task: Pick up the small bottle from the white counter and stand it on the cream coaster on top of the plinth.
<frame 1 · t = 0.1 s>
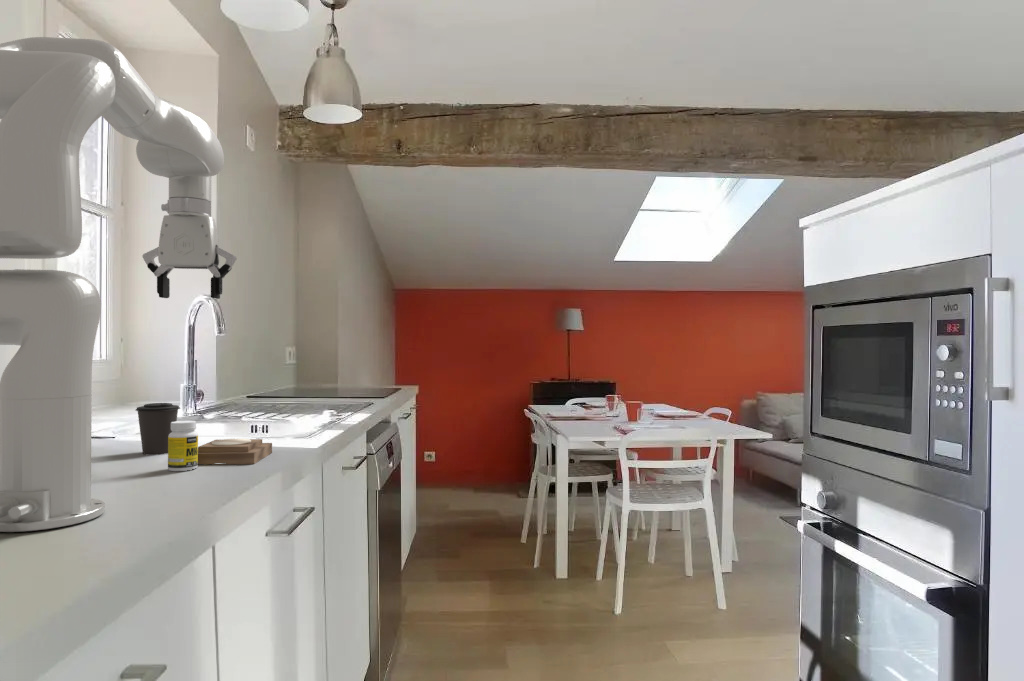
hand: (189, 297, 127), 31 cm above the countertop, fingers open, 9 cm apart
coffee cup: (157, 453, 132), on the countertop
supplement bottle: (183, 470, 115), on the countertop
plinth: (231, 458, 125), on the countertop
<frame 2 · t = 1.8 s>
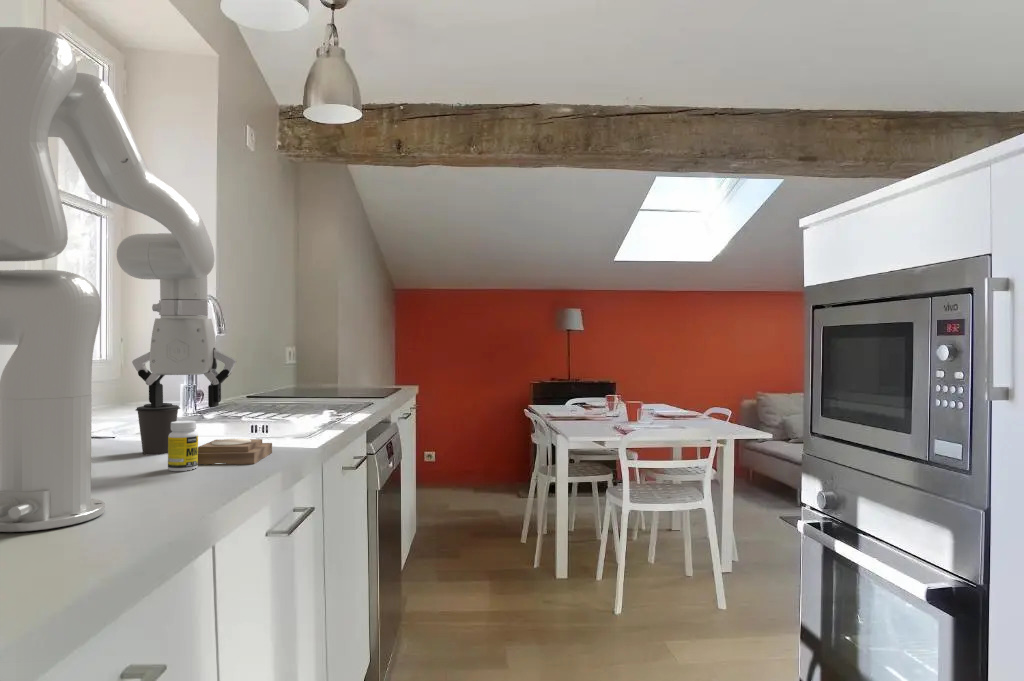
hand: (185, 406, 115), 11 cm above the countertop, fingers open, 9 cm apart
nothing on the countertop moved.
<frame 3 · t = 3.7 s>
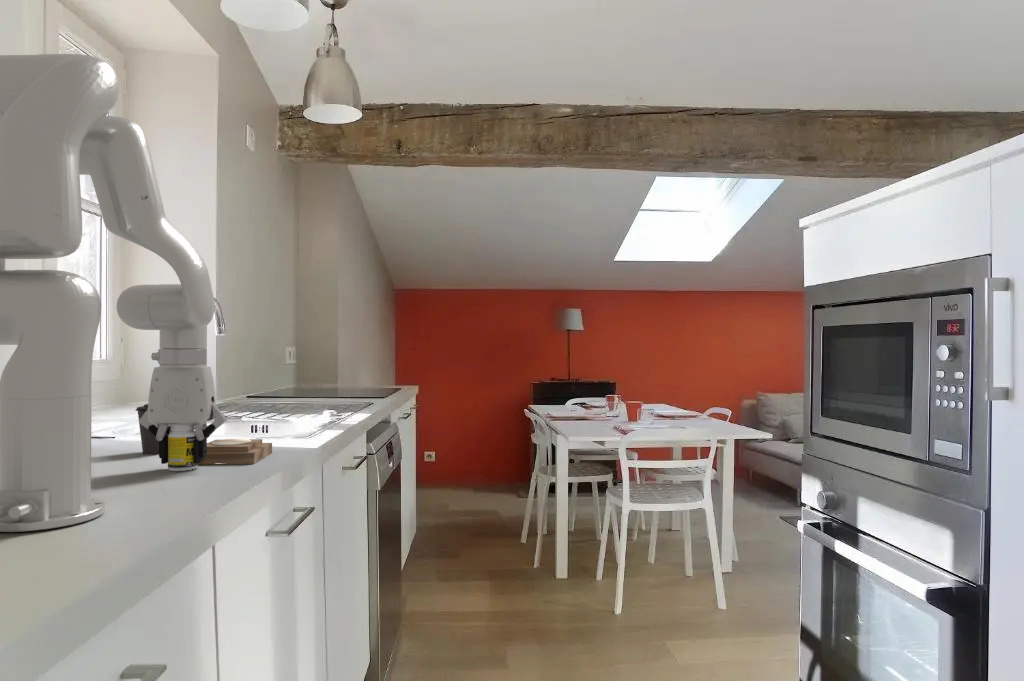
hand: (183, 461, 115), 1 cm above the countertop, fingers closed on supplement bottle, 4 cm apart
supplement bottle: (183, 470, 115), on the countertop, touching gripper
everything else where it was.
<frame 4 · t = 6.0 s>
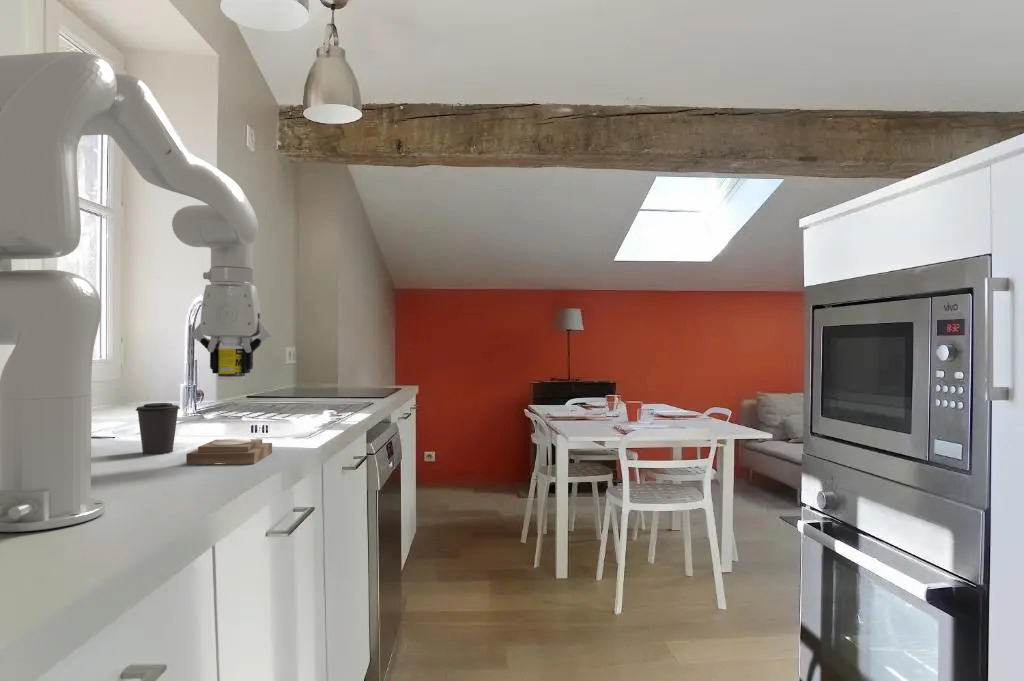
hand: (231, 372, 125), 17 cm above the countertop, fingers closed on supplement bottle, 4 cm apart
supplement bottle: (231, 380, 125), point 15 cm above the countertop, touching gripper
everything else where it was.
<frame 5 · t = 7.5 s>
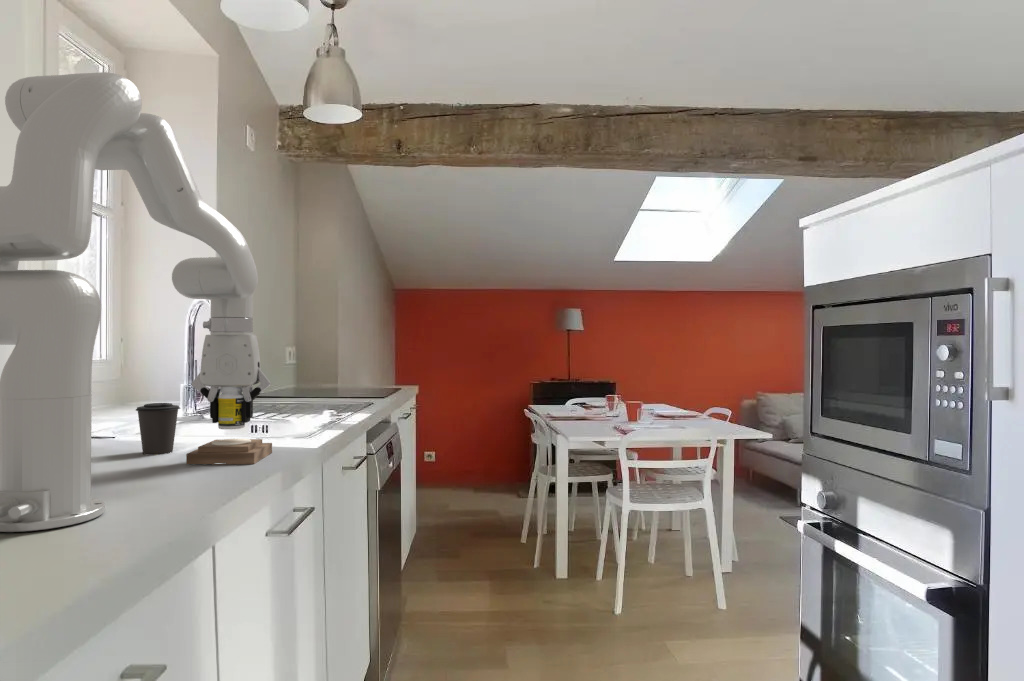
hand: (231, 420, 125), 7 cm above the countertop, fingers closed on supplement bottle, 4 cm apart
supplement bottle: (231, 429, 125), point 6 cm above the countertop, touching gripper
everything else where it was.
when the fingers open (6 cm above the countertop, at t = 8.6 s): supplement bottle stays where it is, resting on plinth.
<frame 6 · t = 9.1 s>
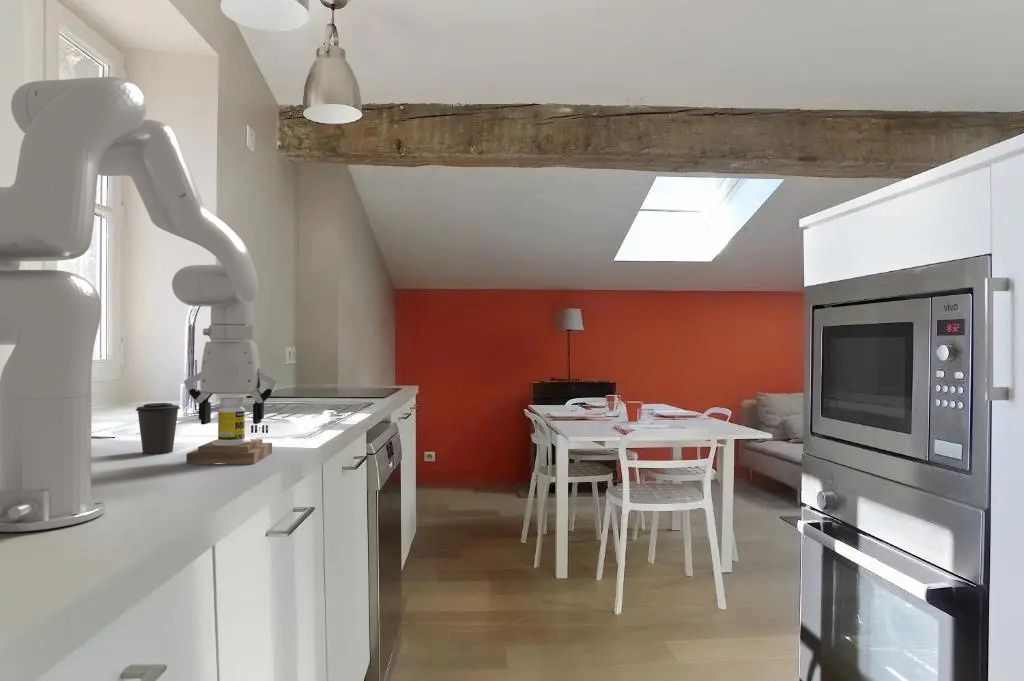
hand: (231, 423, 125), 7 cm above the countertop, fingers open, 9 cm apart
supplement bottle: (231, 442, 125), point 3 cm above the countertop, touching plinth
everything else where it was.
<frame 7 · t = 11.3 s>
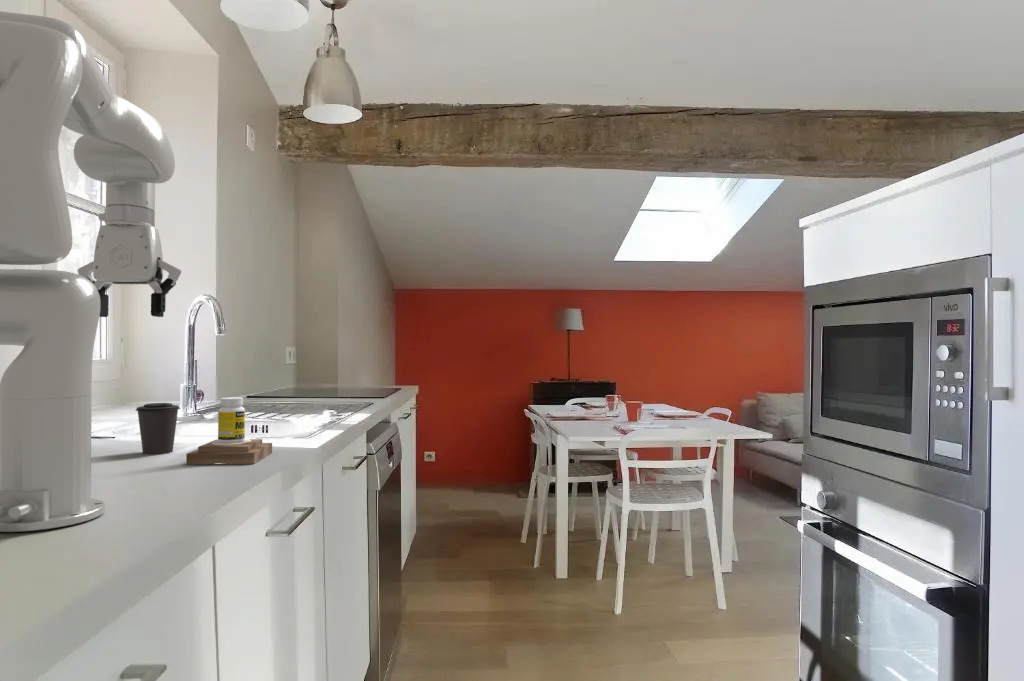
hand: (129, 316, 115), 27 cm above the countertop, fingers open, 9 cm apart
nothing on the countertop moved.
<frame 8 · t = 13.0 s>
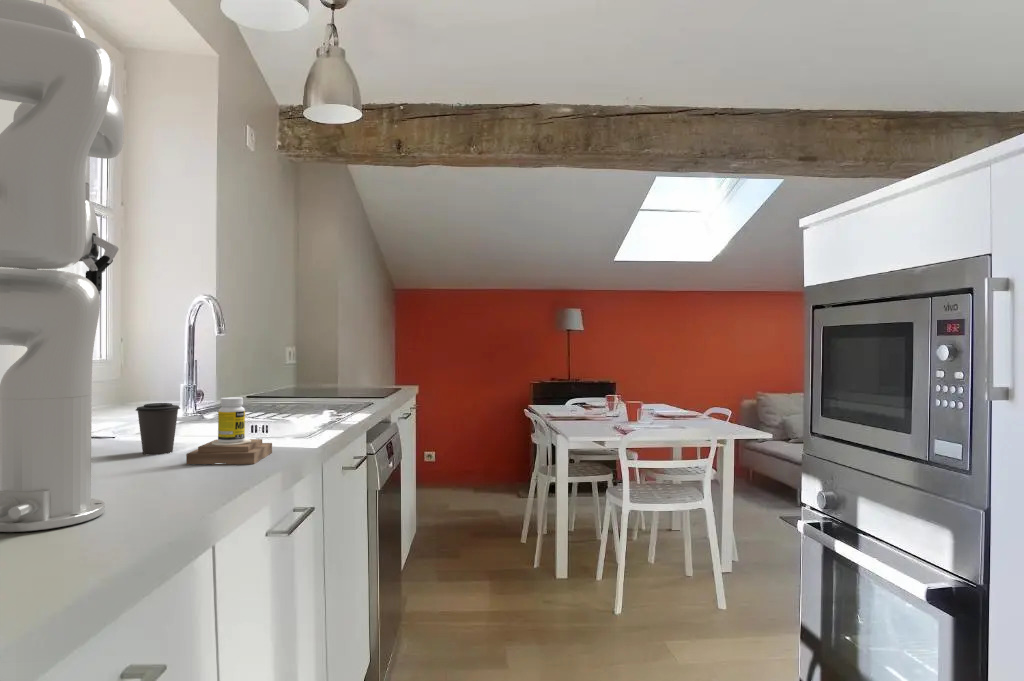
hand: (62, 295, 109), 30 cm above the countertop, fingers open, 9 cm apart
nothing on the countertop moved.
at the end: supplement bottle inside the target area on the plinth (0.2 cm from its centre), point 3.1 cm above the plinth's base; supplement bottle tilted 0°; the gripper is holding nothing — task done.
